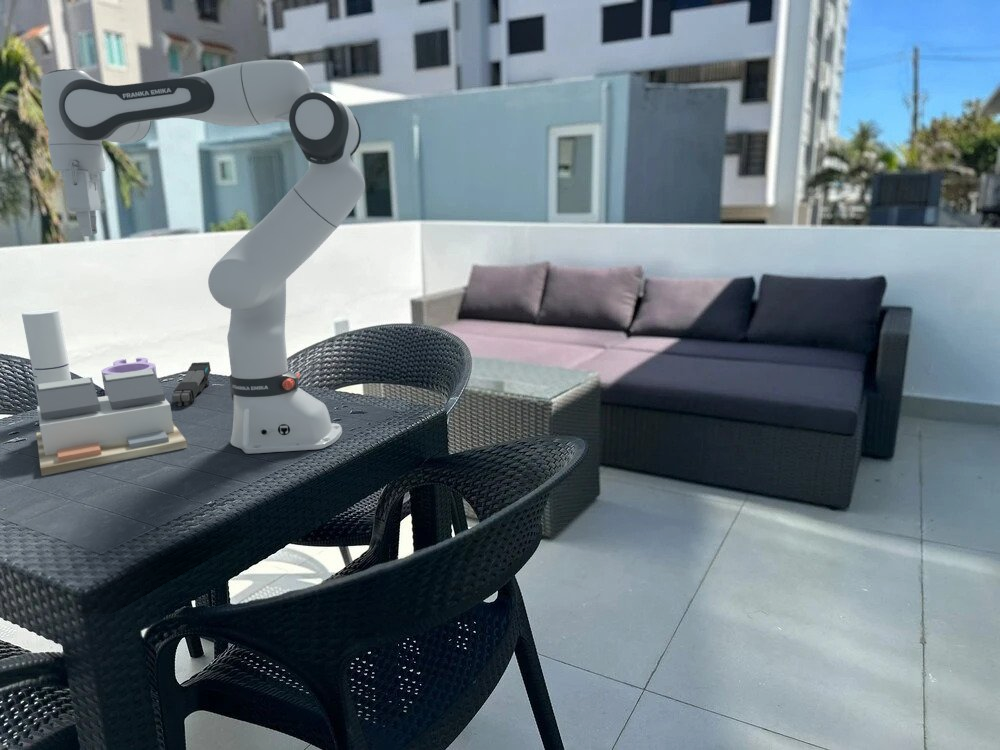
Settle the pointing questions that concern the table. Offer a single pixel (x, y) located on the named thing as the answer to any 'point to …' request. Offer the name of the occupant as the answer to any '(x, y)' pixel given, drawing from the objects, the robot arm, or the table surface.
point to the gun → (192, 383)
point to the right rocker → (133, 388)
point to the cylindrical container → (46, 346)
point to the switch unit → (106, 436)
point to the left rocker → (67, 398)
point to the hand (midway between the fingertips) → (89, 235)
